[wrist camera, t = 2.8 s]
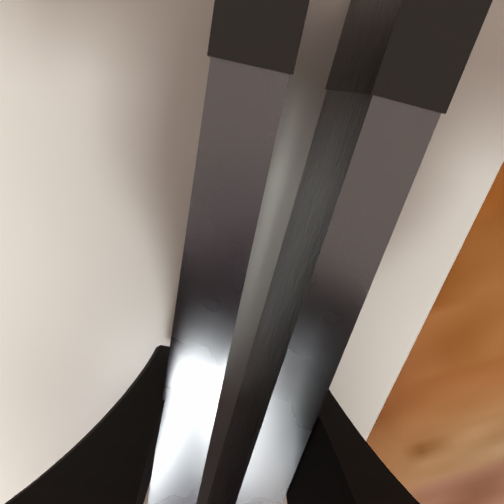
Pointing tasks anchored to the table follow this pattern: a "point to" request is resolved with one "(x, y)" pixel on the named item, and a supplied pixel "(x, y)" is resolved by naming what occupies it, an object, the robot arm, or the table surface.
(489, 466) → the table surface
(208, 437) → the tongs arm
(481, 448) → the table surface
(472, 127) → the cutting board
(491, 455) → the table surface
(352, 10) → the tongs base
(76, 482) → the robot arm
